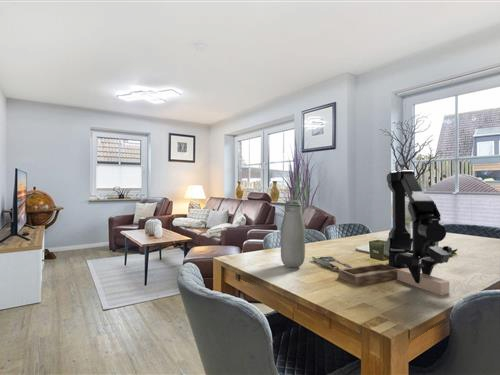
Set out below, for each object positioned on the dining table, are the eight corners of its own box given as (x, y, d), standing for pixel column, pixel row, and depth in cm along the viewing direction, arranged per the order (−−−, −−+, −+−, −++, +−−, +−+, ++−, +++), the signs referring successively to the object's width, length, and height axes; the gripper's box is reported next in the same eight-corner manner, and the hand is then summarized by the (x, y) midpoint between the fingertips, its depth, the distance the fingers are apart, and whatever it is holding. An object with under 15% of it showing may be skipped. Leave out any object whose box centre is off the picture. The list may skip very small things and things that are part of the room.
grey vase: (289, 271, 117) (288, 201, 117) (276, 265, 126) (276, 199, 126) (309, 268, 121) (309, 200, 121) (296, 262, 130) (296, 199, 130)
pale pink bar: (397, 280, 107) (397, 269, 107) (405, 278, 108) (405, 268, 108) (440, 295, 92) (440, 283, 92) (449, 293, 94) (449, 281, 94)
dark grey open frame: (340, 275, 113) (362, 273, 116) (340, 266, 113) (362, 264, 116) (311, 262, 134) (330, 261, 137) (311, 255, 134) (330, 253, 137)
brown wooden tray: (379, 270, 118) (379, 262, 118) (401, 277, 109) (401, 269, 109) (338, 277, 109) (338, 269, 109) (358, 286, 100) (358, 277, 100)
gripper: (426, 242, 89) (426, 294, 89) (464, 237, 96) (464, 285, 97) (394, 236, 99) (394, 283, 99) (431, 232, 107) (430, 275, 107)
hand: (421, 282), depth 100 cm, fingers closed on pale pink bar, 4 cm apart
